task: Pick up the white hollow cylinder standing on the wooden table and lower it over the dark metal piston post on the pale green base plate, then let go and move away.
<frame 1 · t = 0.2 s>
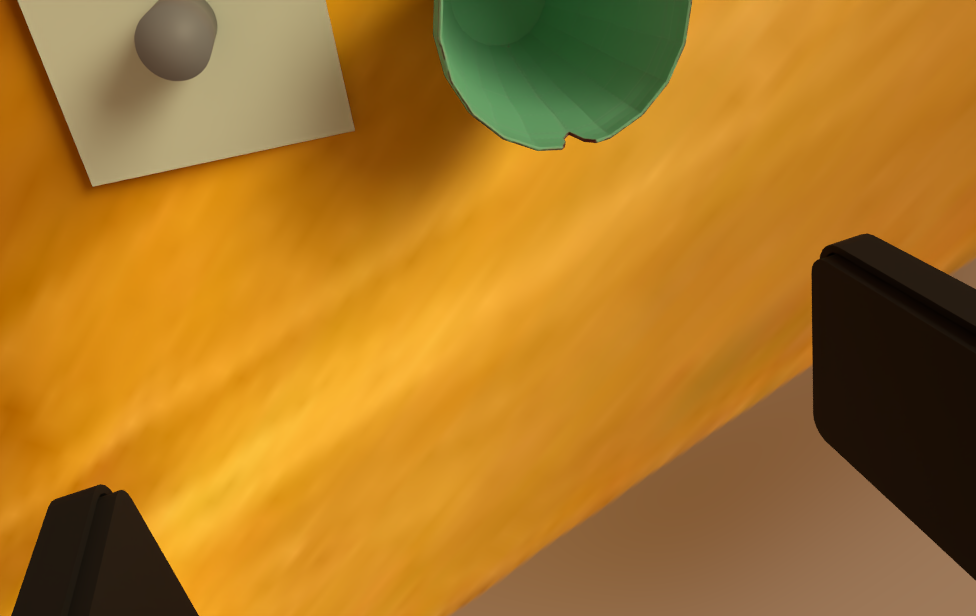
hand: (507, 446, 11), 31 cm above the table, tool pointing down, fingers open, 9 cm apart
piston: (186, 20, 35), on the table
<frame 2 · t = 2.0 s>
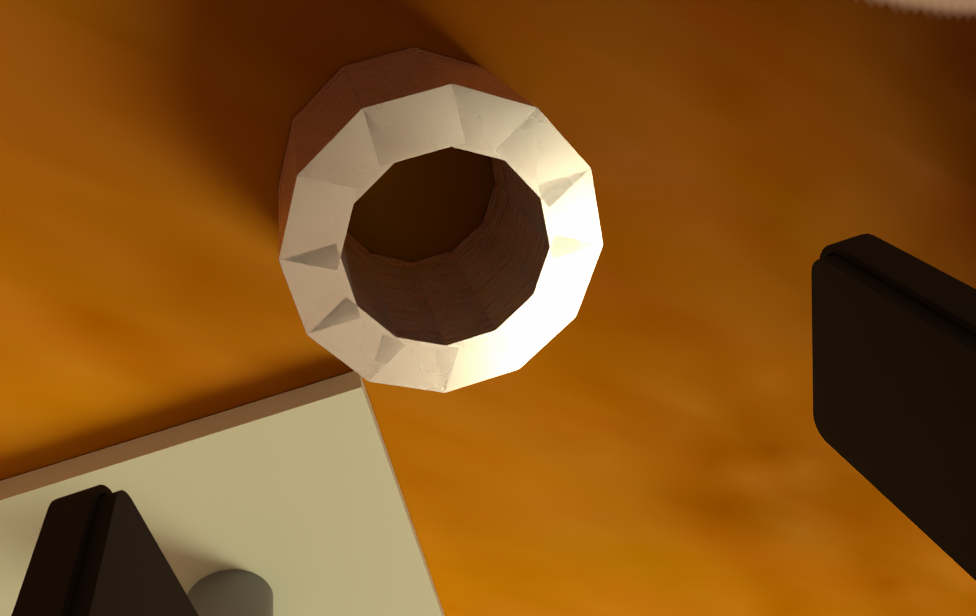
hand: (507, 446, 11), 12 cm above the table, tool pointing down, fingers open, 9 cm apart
white hollow cylinder: (413, 183, 21), on the table
piston: (231, 578, 26), on the table
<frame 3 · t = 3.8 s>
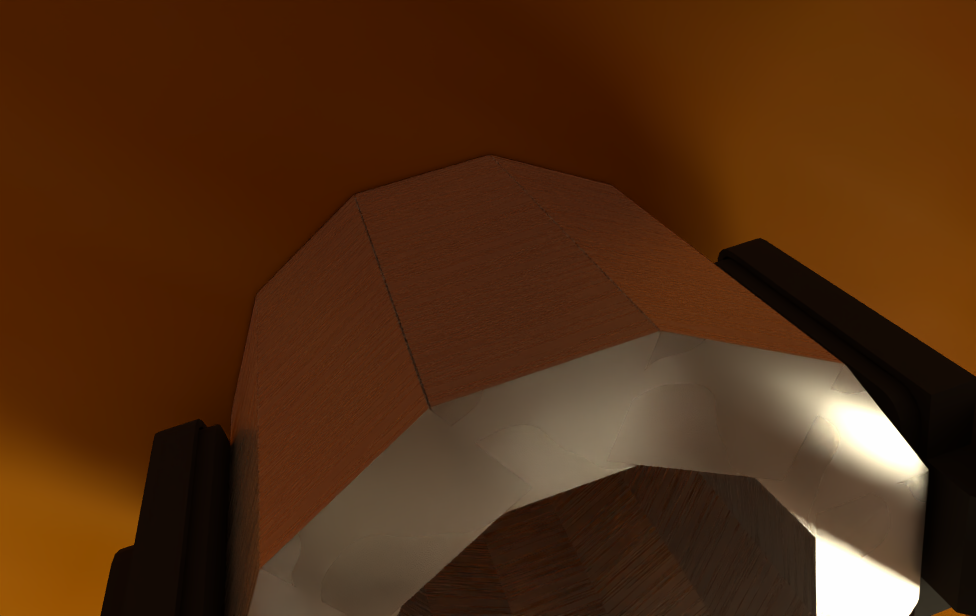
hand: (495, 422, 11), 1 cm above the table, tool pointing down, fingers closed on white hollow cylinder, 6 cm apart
white hollow cylinder: (479, 387, 12), on the table, touching gripper
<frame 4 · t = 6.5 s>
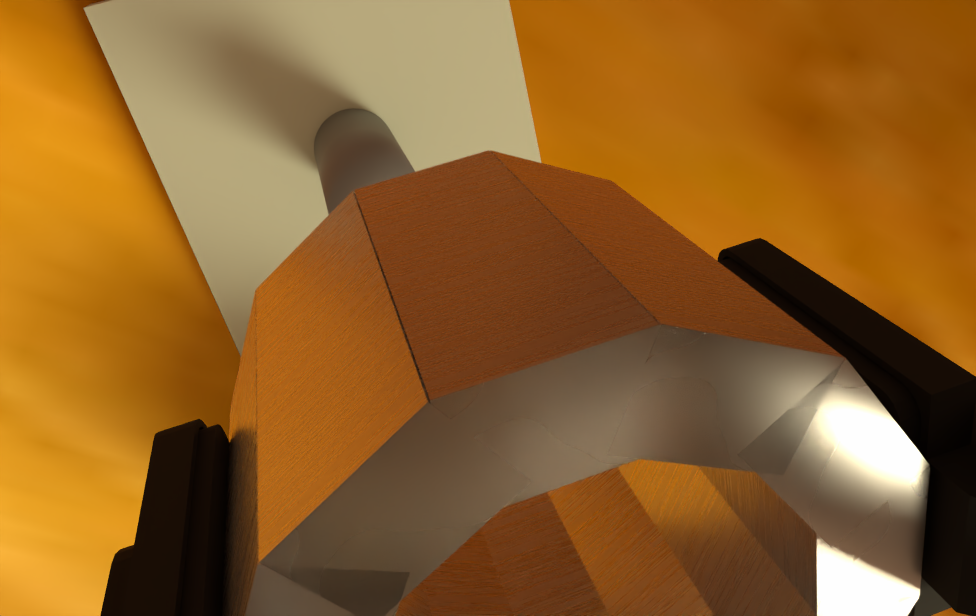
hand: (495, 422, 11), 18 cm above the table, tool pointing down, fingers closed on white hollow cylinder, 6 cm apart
white hollow cylinder: (478, 383, 12), point 17 cm above the table, touching gripper
piston: (351, 141, 27), on the table
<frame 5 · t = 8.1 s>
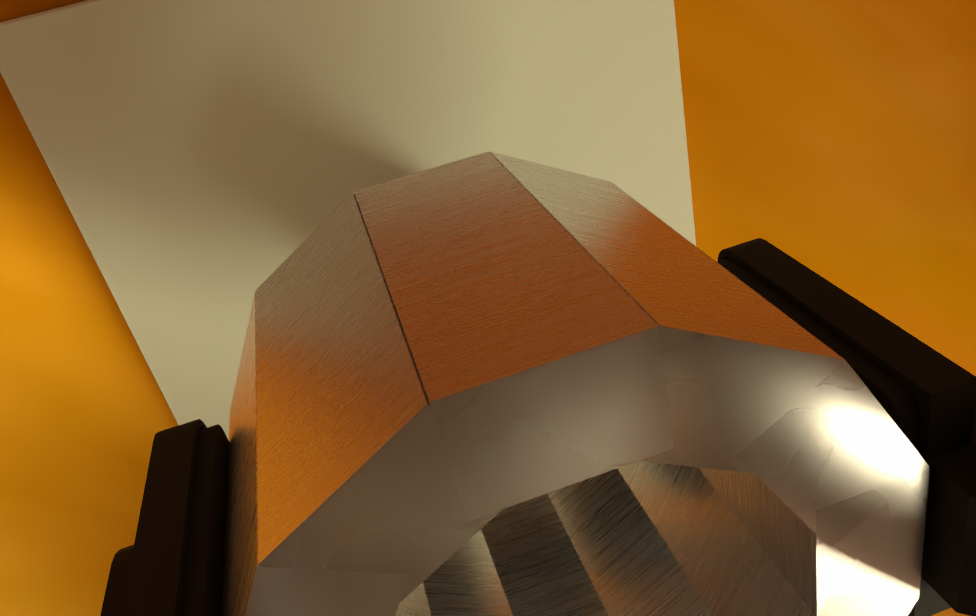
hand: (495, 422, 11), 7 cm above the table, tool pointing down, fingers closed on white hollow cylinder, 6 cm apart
white hollow cylinder: (478, 384, 12), point 6 cm above the table, touching gripper
piston: (415, 233, 17), on the table
when the fingers open (4 cm above the table, at t = 9.2 s): white hollow cylinder drops 2 cm, resting on piston.
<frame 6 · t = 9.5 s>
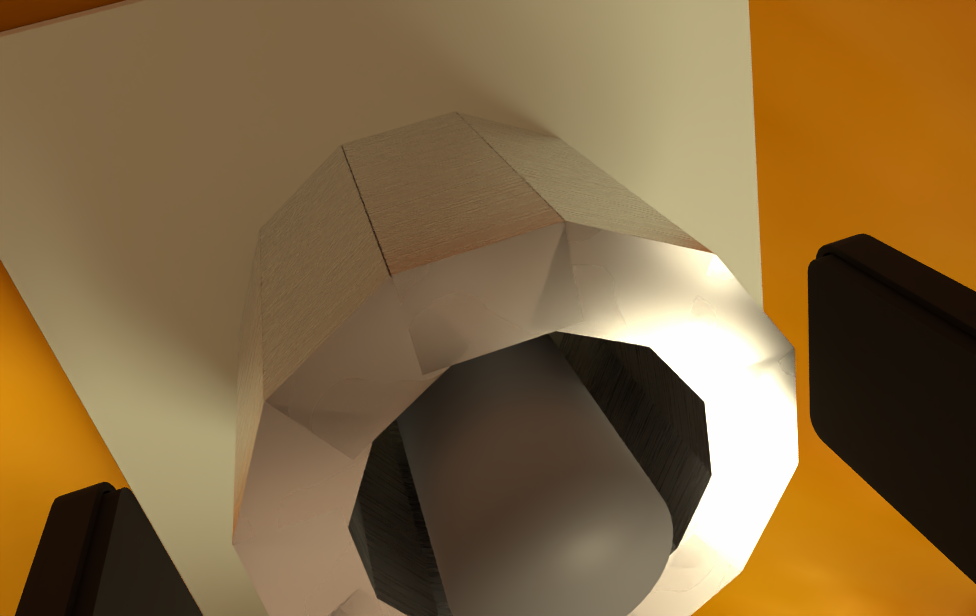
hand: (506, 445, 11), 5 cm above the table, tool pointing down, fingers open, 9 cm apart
white hollow cylinder: (450, 315, 14), point 1 cm above the table, touching piston
piston: (435, 294, 15), on the table
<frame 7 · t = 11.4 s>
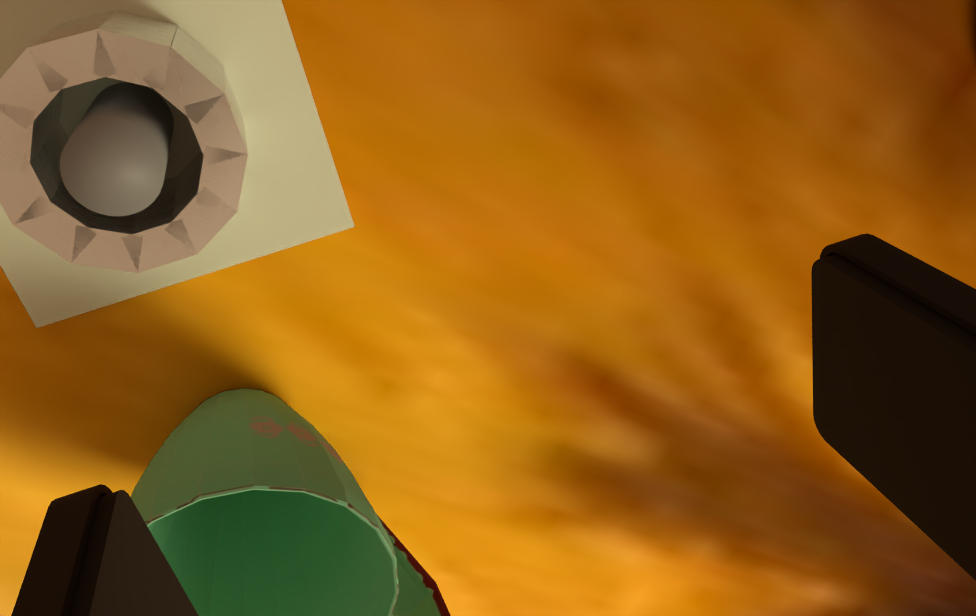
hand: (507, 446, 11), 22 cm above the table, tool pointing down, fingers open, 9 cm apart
mug: (286, 458, 36), on the table
white hollow cylinder: (134, 120, 27), point 1 cm above the table, touching piston
piston: (134, 115, 28), on the table
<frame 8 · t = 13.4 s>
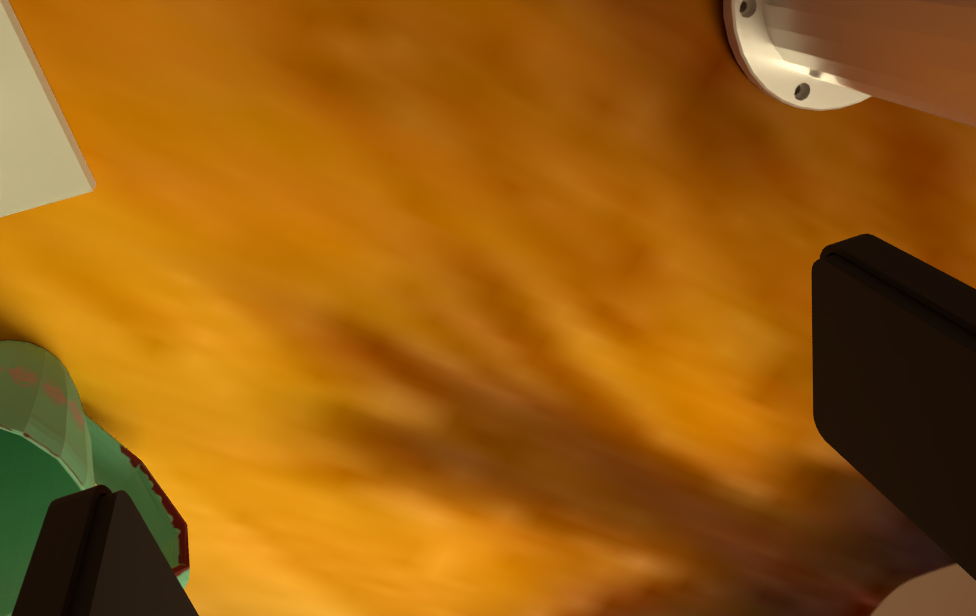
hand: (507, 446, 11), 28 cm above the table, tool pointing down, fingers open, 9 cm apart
mug: (64, 408, 39), on the table
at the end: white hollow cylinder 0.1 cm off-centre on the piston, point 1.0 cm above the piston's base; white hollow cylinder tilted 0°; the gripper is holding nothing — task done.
